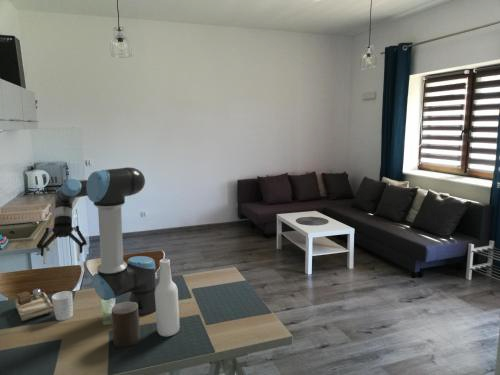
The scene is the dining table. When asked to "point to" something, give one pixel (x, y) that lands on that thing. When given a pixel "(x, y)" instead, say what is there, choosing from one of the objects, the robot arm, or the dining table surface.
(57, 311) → the white cup
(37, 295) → the metal stub
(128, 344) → the pillar candle
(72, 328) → the dining table surface
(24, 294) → the walnut block
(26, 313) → the wooden tray
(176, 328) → the alcohol
